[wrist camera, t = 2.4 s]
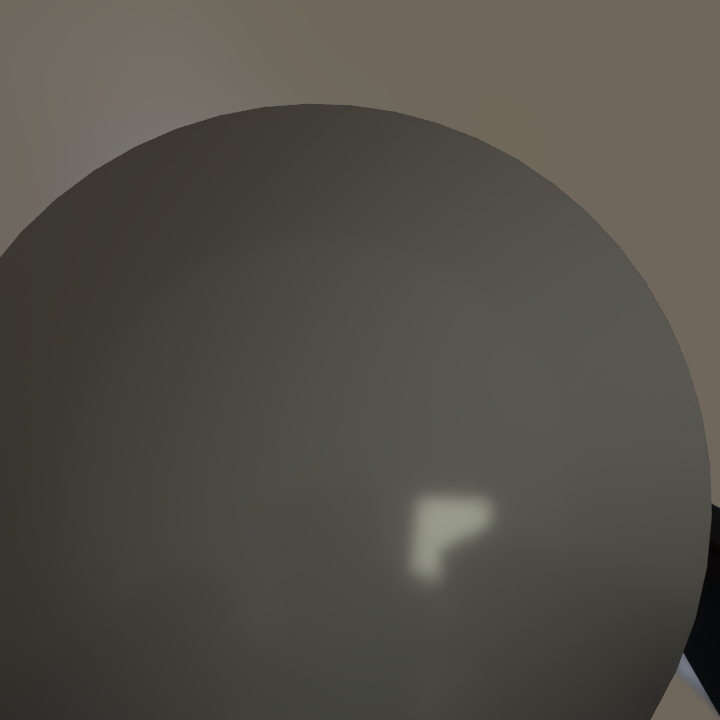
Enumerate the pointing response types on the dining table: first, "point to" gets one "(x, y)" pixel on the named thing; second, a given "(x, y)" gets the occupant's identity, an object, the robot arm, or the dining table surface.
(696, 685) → the dining table surface
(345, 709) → the grey brown rounded piece
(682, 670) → the dining table surface
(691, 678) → the dining table surface
